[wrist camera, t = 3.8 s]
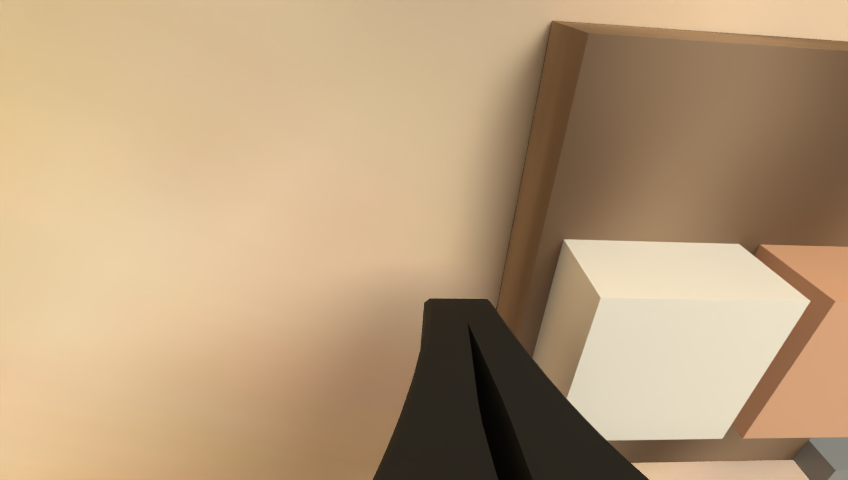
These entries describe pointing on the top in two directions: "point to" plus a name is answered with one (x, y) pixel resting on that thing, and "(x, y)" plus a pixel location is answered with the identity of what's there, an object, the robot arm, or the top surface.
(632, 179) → the walnut board
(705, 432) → the ivory tile
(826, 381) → the terracotta tile
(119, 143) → the top surface
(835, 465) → the tray
